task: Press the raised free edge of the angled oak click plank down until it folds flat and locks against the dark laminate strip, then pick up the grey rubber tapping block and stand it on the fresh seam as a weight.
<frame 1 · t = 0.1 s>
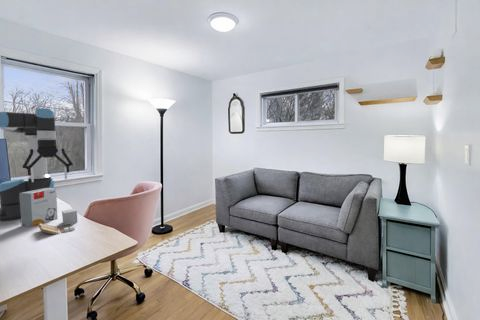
hand: (49, 180, 125), 28 cm above the table, fingers open, 13 cm apart
click plank: (49, 229, 125), point 3 cm above the table, hinge at 30.0°
tapping block: (70, 224, 139), on the table
spacer wedges: (69, 232, 127), resting on laminate strip
laminate strip: (65, 230, 130), on the table
hard drive box: (40, 224, 140), on the table
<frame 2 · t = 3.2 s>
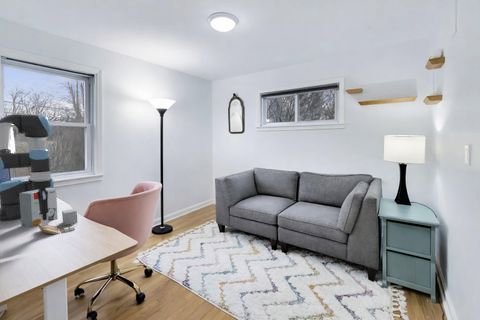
hand: (44, 225, 122), 5 cm above the table, fingers closed
click plank: (49, 229, 125), point 3 cm above the table, hinge at 30.0°, touching gripper
everything else where it was.
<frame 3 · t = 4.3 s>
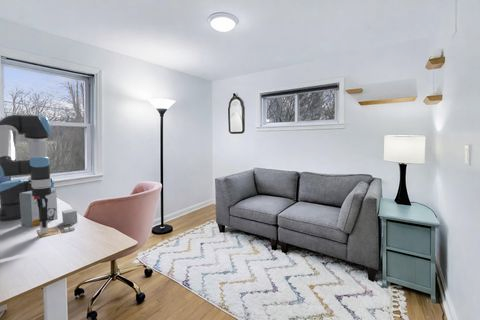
hand: (44, 233, 122), 2 cm above the table, fingers closed
click plank: (48, 232, 125), point 1 cm above the table, hinge at 3.1°, touching gripper
everything else where it was.
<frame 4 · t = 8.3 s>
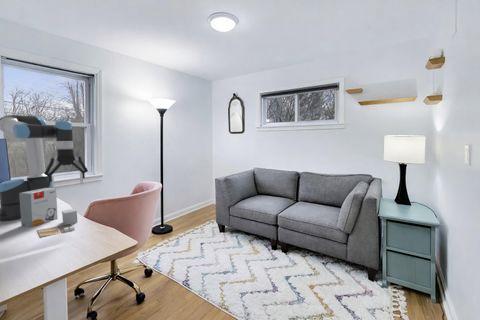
hand: (67, 185, 137), 23 cm above the table, fingers open, 13 cm apart
click plank: (48, 232, 125), point 1 cm above the table, hinge at 3.0°
everything else where it was.
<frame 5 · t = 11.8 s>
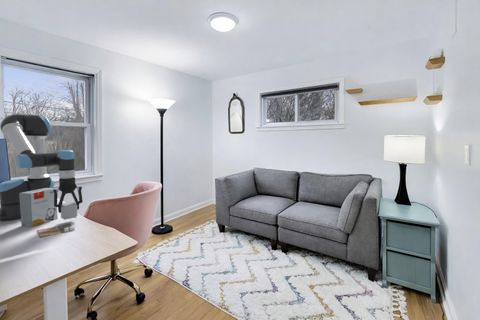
hand: (69, 216, 139), 5 cm above the table, fingers closed on tapping block, 6 cm apart
tapping block: (69, 217, 139), point 4 cm above the table, touching gripper
everything else where it was.
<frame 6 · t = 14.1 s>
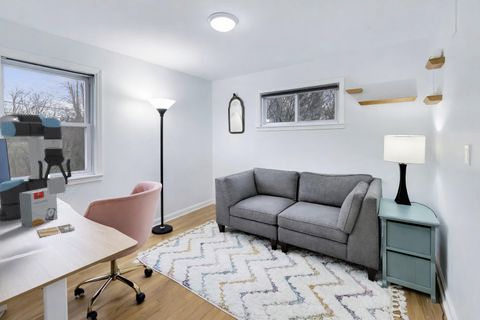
hand: (56, 191, 126), 22 cm above the table, fingers closed on tapping block, 6 cm apart
tapping block: (56, 192, 126), point 21 cm above the table, touching gripper
everything else where it was.
when the fingers open (2 cm above the table, at t = 16.5 s): tapping block stays where it is, resting on click plank, laminate strip.
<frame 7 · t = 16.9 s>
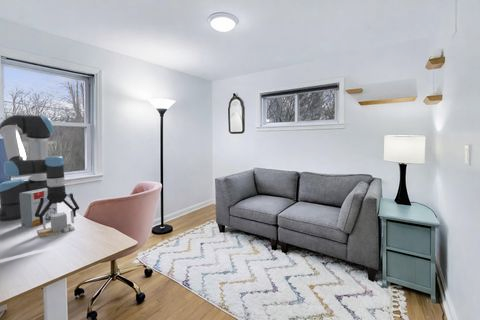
hand: (59, 225, 128), 3 cm above the table, fingers open, 11 cm apart
click plank: (48, 232, 125), point 1 cm above the table, hinge at 3.0°, touching tapping block
tapping block: (59, 229, 128), point 1 cm above the table, touching click plank, laminate strip
everything else where it was.
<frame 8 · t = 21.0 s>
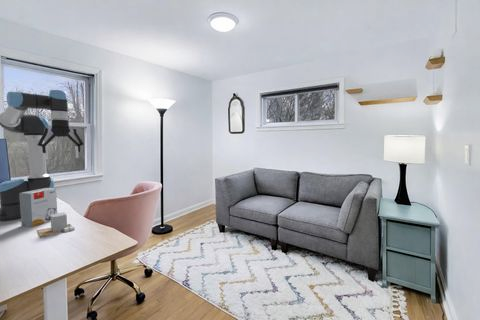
hand: (62, 158, 132), 39 cm above the table, fingers open, 13 cm apart
nothing on the table moved.
at the end: click plank at +3° (first picture: +30°); tapping block inside the target area (0.5 cm from its centre), point 1.3 cm above the table; tapping block tilted 1° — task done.
